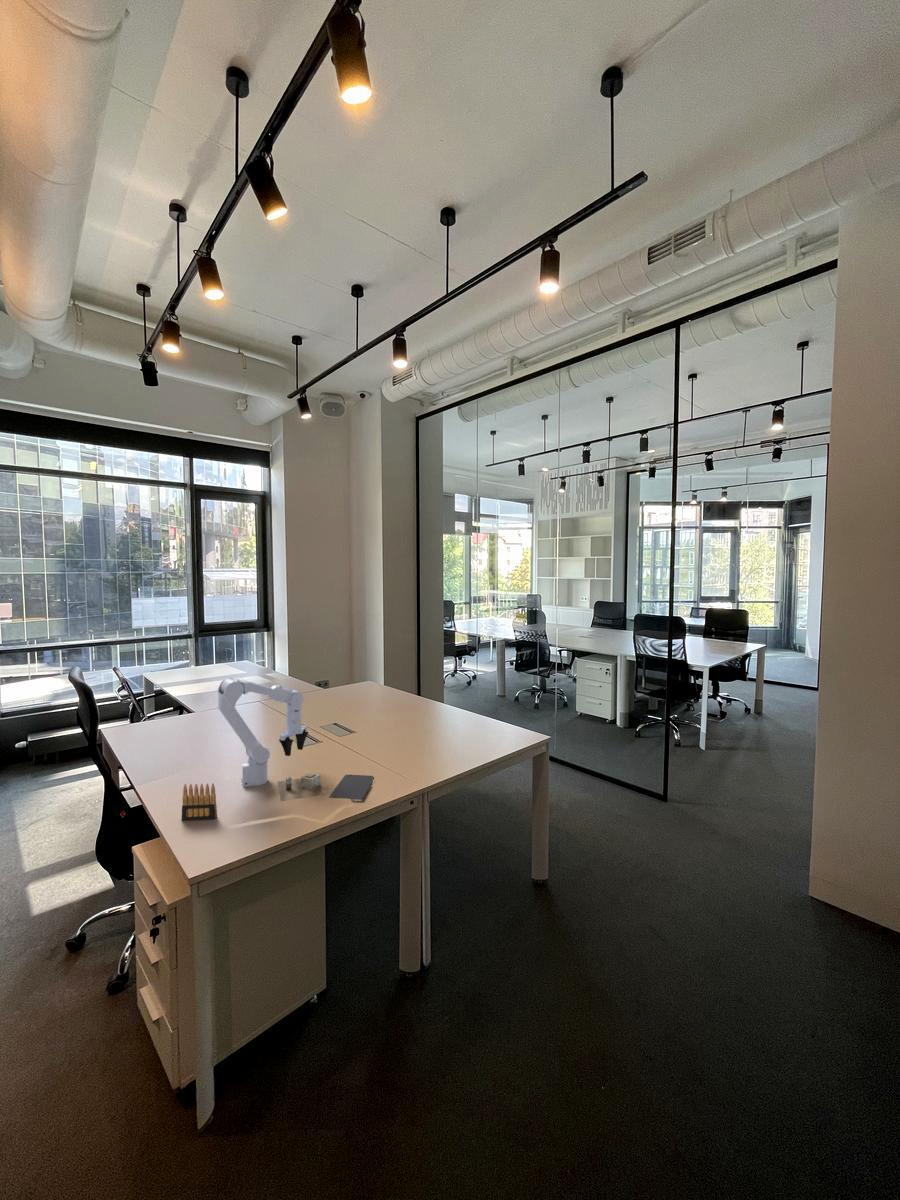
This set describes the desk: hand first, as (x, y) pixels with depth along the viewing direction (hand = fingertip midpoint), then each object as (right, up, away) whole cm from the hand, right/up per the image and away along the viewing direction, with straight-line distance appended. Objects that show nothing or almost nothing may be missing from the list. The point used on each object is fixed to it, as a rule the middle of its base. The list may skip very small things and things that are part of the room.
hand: (293, 752), depth 199 cm
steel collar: (+10, -9, -12) cm, 19 cm away
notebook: (+27, -11, -12) cm, 31 cm away
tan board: (+7, -10, -14) cm, 19 cm away
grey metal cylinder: (+3, -9, -16) cm, 18 cm away
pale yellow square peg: (+10, -9, -12) cm, 19 cm away
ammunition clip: (-20, -11, -37) cm, 43 cm away
